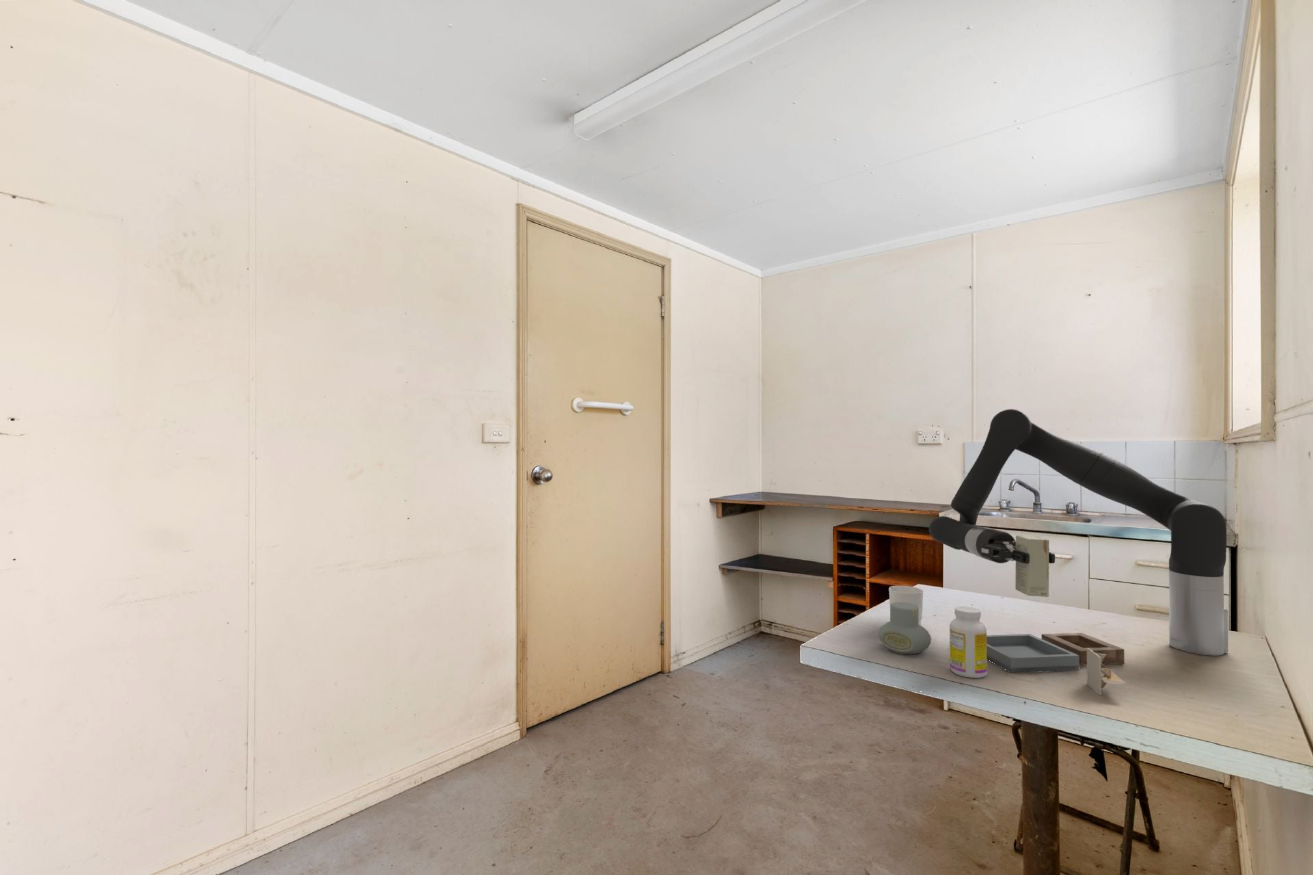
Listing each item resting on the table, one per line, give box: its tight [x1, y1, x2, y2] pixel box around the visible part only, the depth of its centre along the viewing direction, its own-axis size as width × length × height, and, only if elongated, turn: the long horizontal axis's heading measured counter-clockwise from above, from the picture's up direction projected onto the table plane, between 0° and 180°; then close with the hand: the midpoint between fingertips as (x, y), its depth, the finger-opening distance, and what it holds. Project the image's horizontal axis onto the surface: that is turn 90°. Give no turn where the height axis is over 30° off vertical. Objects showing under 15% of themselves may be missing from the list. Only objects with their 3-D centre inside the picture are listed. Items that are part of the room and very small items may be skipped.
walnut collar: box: [1041, 632, 1125, 666], centre depth 131 cm, size 10×11×3 cm
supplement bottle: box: [949, 605, 988, 679], centre depth 121 cm, size 7×7×13 cm
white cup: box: [888, 585, 924, 626], centre depth 149 cm, size 8×8×10 cm
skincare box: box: [1014, 534, 1050, 598], centre depth 130 cm, size 6×4×12 cm
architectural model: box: [1086, 648, 1126, 696], centre depth 112 cm, size 3×7×7 cm, turn 165°
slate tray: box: [987, 633, 1080, 674], centre depth 128 cm, size 15×14×3 cm
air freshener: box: [877, 602, 932, 655], centre depth 134 cm, size 11×8×10 cm
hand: (1040, 558), depth 127 cm, fingers closed on skincare box, 5 cm apart
